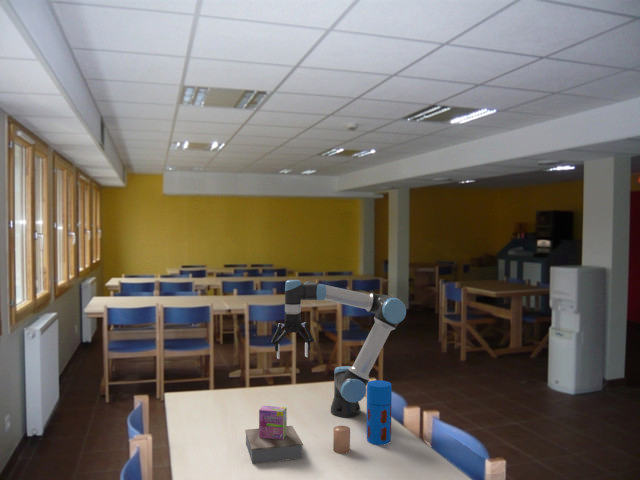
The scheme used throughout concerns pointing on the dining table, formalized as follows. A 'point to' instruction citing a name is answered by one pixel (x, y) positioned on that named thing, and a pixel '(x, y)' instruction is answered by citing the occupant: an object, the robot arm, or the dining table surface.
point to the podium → (273, 446)
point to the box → (272, 422)
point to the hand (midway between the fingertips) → (292, 357)
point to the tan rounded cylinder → (341, 439)
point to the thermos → (379, 412)
